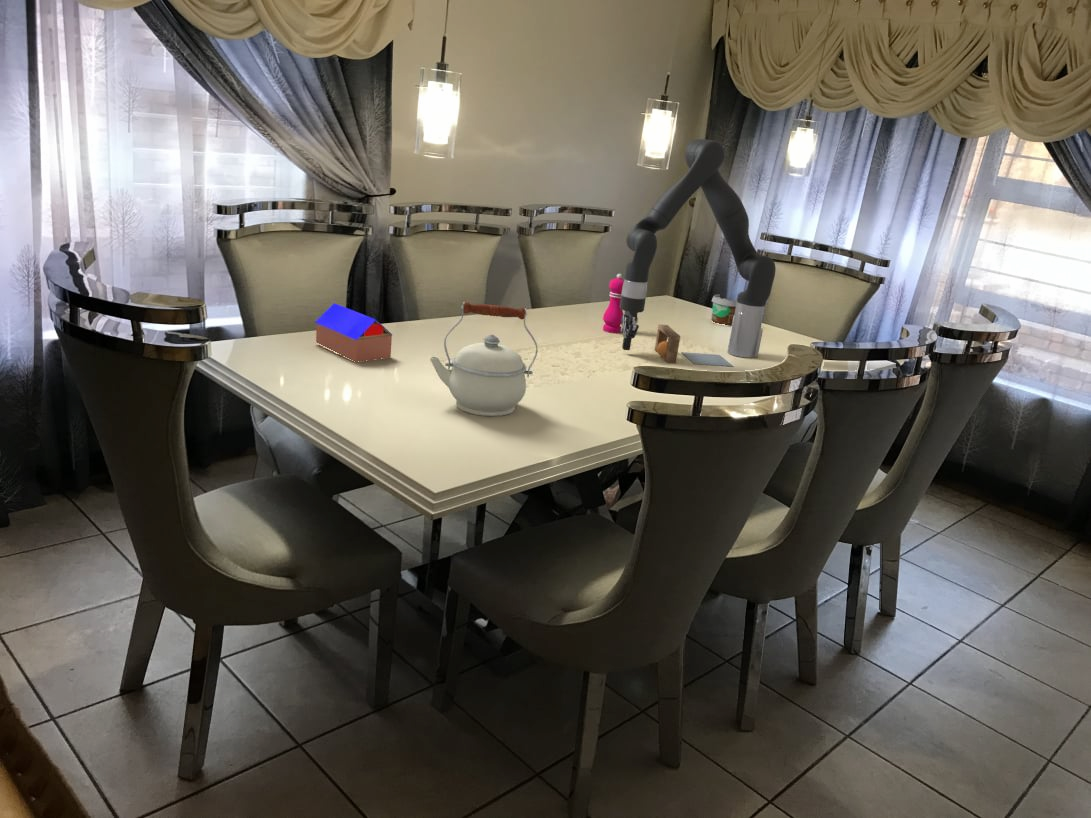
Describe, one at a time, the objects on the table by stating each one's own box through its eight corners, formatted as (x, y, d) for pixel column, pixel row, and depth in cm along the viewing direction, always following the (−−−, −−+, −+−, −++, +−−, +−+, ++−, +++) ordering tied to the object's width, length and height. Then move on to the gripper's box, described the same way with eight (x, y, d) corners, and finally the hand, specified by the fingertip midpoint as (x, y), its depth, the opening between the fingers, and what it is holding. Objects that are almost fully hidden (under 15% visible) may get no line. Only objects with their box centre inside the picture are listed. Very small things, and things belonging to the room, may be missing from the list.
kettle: (530, 399, 213) (540, 301, 205) (531, 424, 196) (543, 318, 188) (430, 389, 212) (437, 291, 204) (422, 413, 194) (429, 307, 187)
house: (355, 364, 226) (357, 321, 222) (314, 345, 239) (315, 304, 235) (392, 359, 234) (394, 317, 231) (350, 341, 247) (352, 301, 243)
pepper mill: (598, 330, 294) (605, 272, 287) (606, 327, 300) (614, 270, 293) (617, 334, 291) (625, 276, 284) (625, 331, 297) (633, 274, 290)
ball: (671, 352, 271) (668, 337, 270) (676, 356, 267) (672, 341, 265) (657, 356, 271) (653, 342, 269) (661, 361, 266) (657, 346, 265)
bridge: (663, 351, 276) (667, 325, 273) (675, 363, 263) (680, 336, 260) (654, 350, 275) (658, 324, 273) (666, 362, 262) (671, 335, 260)
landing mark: (719, 355, 279) (719, 354, 279) (733, 366, 267) (733, 366, 267) (681, 352, 277) (681, 352, 276) (693, 364, 264) (694, 363, 264)
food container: (701, 319, 332) (706, 293, 329) (714, 319, 334) (719, 294, 331) (720, 327, 321) (725, 301, 318) (733, 327, 324) (738, 301, 321)
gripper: (651, 300, 255) (642, 356, 261) (640, 291, 268) (632, 344, 273) (627, 298, 254) (619, 354, 260) (617, 289, 266) (609, 343, 272)
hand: (625, 349), depth 266 cm, fingers closed
